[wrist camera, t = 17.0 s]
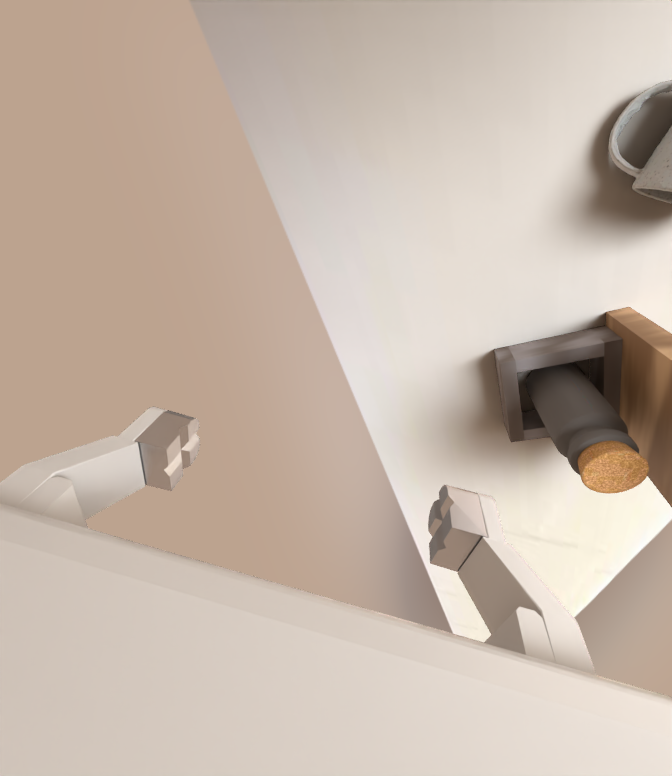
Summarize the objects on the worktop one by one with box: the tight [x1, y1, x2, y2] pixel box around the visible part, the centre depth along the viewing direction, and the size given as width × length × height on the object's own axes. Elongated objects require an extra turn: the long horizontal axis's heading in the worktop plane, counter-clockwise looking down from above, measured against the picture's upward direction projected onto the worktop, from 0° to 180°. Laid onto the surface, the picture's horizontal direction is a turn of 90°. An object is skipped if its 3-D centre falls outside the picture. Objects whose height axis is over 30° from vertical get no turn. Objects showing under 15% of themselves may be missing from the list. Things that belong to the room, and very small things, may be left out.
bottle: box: [526, 362, 649, 493], centre depth 35 cm, size 6×6×15 cm
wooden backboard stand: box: [494, 307, 672, 507], centre depth 32 cm, size 13×14×20 cm
